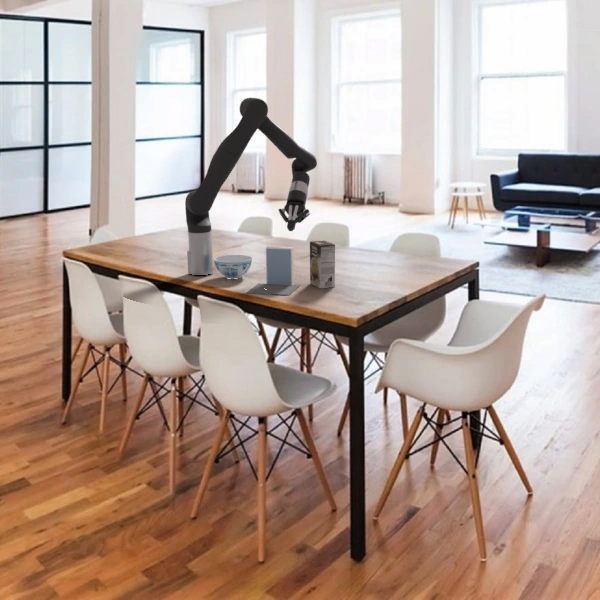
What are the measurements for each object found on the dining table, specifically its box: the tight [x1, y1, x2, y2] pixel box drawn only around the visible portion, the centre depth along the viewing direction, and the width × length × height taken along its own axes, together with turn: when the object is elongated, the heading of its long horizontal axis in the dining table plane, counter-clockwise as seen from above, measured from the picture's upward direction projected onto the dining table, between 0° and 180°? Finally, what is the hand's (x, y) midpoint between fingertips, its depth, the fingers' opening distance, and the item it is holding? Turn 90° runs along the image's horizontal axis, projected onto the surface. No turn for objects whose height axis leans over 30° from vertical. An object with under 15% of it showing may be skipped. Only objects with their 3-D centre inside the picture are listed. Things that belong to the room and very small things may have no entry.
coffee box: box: [309, 240, 336, 289], centre depth 267 cm, size 9×6×16 cm
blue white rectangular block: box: [265, 246, 295, 285], centre depth 270 cm, size 10×3×14 cm, turn 76°
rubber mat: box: [245, 283, 300, 296], centre depth 263 cm, size 16×15×1 cm
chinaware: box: [213, 254, 253, 279], centre depth 283 cm, size 15×15×8 cm
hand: (290, 229), depth 283 cm, fingers closed
